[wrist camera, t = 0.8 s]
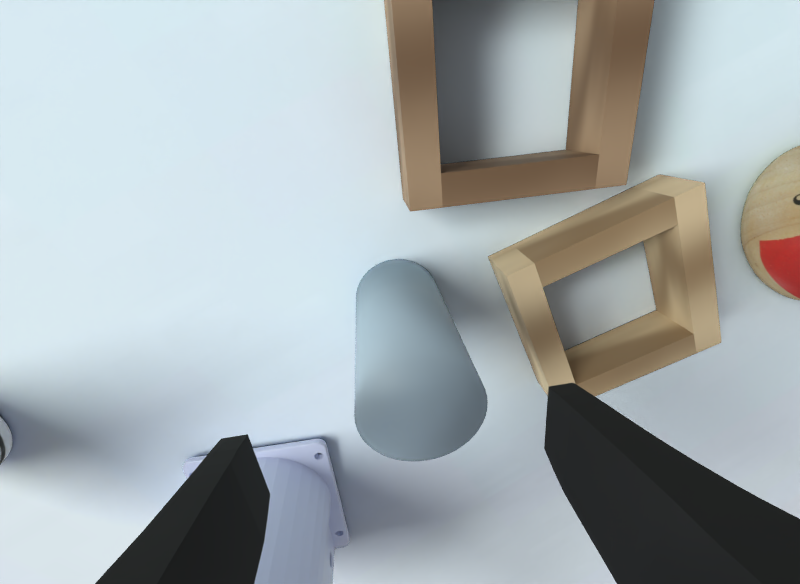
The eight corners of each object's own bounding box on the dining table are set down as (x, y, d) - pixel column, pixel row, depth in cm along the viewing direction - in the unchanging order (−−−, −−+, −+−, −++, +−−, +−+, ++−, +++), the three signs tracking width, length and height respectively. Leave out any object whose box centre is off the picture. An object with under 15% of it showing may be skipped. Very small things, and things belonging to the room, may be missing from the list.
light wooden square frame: (681, 318, 21) (721, 342, 18) (537, 381, 22) (558, 411, 19) (659, 174, 17) (705, 182, 15) (487, 256, 18) (506, 276, 16)
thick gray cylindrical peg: (439, 327, 19) (487, 450, 12) (362, 337, 19) (364, 469, 12) (434, 254, 18) (487, 347, 10) (350, 265, 18) (344, 367, 10)
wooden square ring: (590, 176, 17) (626, 184, 15) (402, 198, 16) (410, 211, 14) (618, -73, 13) (671, -112, 11) (379, -51, 13) (383, -88, 11)
